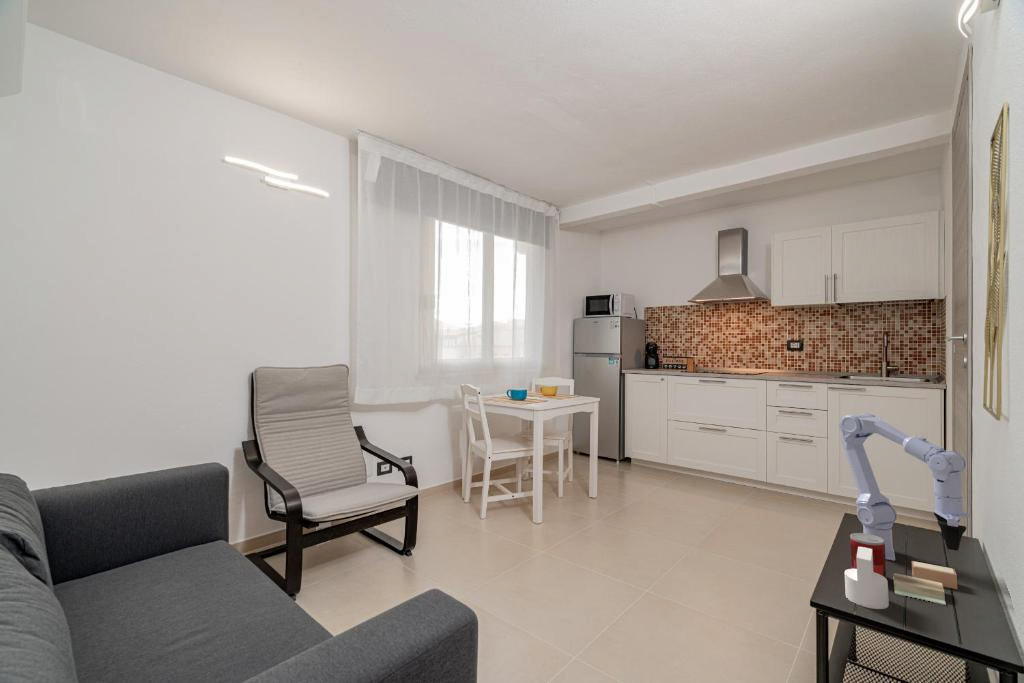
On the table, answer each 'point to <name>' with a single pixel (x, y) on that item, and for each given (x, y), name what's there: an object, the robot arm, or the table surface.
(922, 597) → the mat
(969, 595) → the table surface
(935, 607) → the table surface
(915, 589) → the beige block
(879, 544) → the canned food
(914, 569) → the brown and cream block
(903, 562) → the table surface
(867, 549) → the cylinder with rectangular tab
